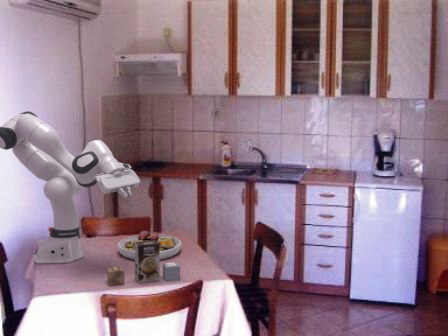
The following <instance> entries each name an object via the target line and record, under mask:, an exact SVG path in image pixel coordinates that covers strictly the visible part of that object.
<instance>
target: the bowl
mask: <svg viewBox="0 0 448 336" xmlns="http://www.w3.org/2000/svg"><path fill="white" fill-rule="evenodd" d="M150 240H156V241H157V242H158V243H159V253H160V261H161V260H165V259H169V258H171V257H174V256H175V255H177V254H178V253H179V251H180V250H181V248H182V241H181V240H180V239H179V238H177V237H175V236H170V235H165V234H159V233H157V232H156V231H154V232H152V233H151V234H150V232H149V231H148V230H142V231H140V232H139V233H138V235H134V236H129V237H126V238H124V239H121V240H120V241H119V242H118V243H117V249H118V252H119V253H120V254H121V255H122V256H124V257H125V258H128V259H130V260H134V261H135V242H140V241H150Z"/></svg>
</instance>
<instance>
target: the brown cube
mask: <svg viewBox="0 0 448 336" xmlns="http://www.w3.org/2000/svg"><path fill="white" fill-rule="evenodd" d="M106 271H107V273H106V274H107V276H106V277H107V283H108V286H109V287H115V286H125V269H124V268H123V266H122V265H119V266H109V267H107V270H106Z"/></svg>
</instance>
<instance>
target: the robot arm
mask: <svg viewBox="0 0 448 336" xmlns="http://www.w3.org/2000/svg"><path fill="white" fill-rule="evenodd" d="M0 149H2V150H6V151H8V150H11V149H12V153H13V154H14V156H15V158H17V160H18V161H19V162H20V163H21V164H22V165H23V166H24V167H25V168H26V169H27V170H28V171H29V172H30V173H31V174H33V175H34V176H35V177H36V178H37V179H39V180H42V181H45V182H46V183H45V184H44V186H43V194H44V196H45V198H47V200H48V201H49V202H50V205H51V208H52V214H53V227H52V226H50V227H48V232H49V236H47V238H45V240H43V241H42V242H41V243H40V244H39V245H38V247H37V253H34V255H33V256H32V262H34V263H35V264H63V263H64V264H65V263H67V264H68V263H72V262H74V261H76V260H79V259H81V258H83V257H84V253H83V250H82V245H81V241H80V240H81V239H80V238H81V228H80V225H79V224H80V223H79V210H78V208H77V207H76V206H75V203H74V200H73V196H75V195H77V194H79V193H80V192H81V191H82V190H83V189H84V188H92V187H93V186H95V185H96V184H97V186H98V188H99V190H100V191H101V193H102V194H103V195H105V194H111V193H115V192H117V193H118V194H119V195H121V196H122V197H123V198H124V199H129V198H131V197H132V196H133V194H132V193H131V189H134V188H138V186H139V185H141V184H140V183H141V179H140V178H139V176H138V175H137V173H136V172H135V170H133V169H132V166H131V165H130V164H129V163H122V162H119V161H118V159H116V158H115V156H114V155H113V152H112V150H110V148H109V147H108V145H107V144H106V143H105V142H104V141H102V140H100V139H96V140H91V141H90V142H88V143H87V144H85V148H84V149H83V151H81V153H79V154H78V155H76V157H75V156H74V155H72V154H71V153H70V152H69V150H68V149H67V148H66V147H65V145H64V143H63V142H62V139H61V138H60V135H59V133H58V132H57V131H56V129H54V128H53V127H52V126H51V125H50V124H48V123H47V122H45V121H44V120H43V119H41V118H39V117H38V115H36V114H35V113H34V112H32V111H23V112H20V114H18V115H16V116H14V117H12V118H10V119H9V120H8V121H6V122H5V123H4V124H3V125H1V126H0Z"/></svg>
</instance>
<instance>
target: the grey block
mask: <svg viewBox="0 0 448 336" xmlns="http://www.w3.org/2000/svg"><path fill="white" fill-rule="evenodd" d="M162 278H163V279H164V281H165V282H173V281H181V265H180V264H179V263H178V262H177V261H174V262H173V261H172V262H163V263H162Z"/></svg>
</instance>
